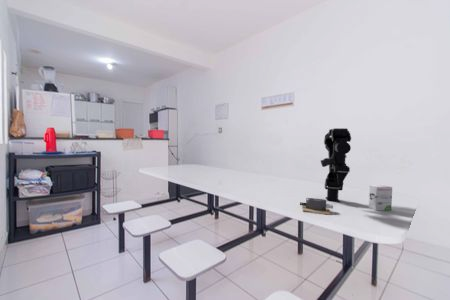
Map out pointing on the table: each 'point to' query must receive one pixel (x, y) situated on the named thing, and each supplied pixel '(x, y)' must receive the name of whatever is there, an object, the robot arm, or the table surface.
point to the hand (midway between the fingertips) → (337, 183)
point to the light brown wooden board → (316, 211)
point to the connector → (316, 204)
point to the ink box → (380, 198)
